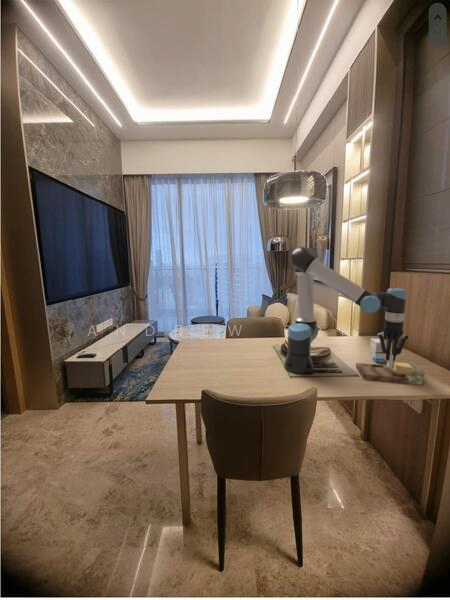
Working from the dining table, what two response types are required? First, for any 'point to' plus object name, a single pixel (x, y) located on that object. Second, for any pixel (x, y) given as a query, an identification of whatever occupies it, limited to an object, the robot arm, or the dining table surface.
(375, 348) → the ink box
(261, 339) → the dining table surface
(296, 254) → the robot arm
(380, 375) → the board
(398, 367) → the ochre block
